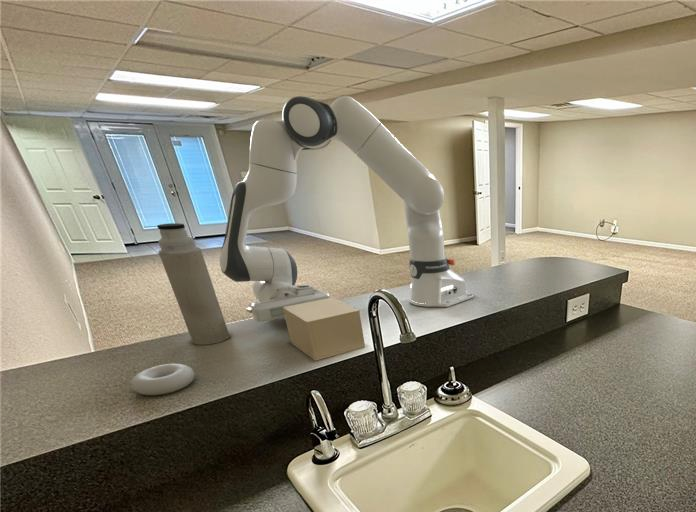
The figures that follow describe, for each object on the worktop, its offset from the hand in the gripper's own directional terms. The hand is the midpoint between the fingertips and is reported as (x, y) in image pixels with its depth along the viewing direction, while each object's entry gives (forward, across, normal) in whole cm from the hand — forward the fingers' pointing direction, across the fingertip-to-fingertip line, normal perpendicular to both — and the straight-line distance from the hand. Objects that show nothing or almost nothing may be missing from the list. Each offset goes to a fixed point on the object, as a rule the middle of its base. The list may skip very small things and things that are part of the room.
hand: (303, 312), depth 108 cm
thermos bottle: (-11, -20, +6) cm, 24 cm away
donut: (+12, -33, +6) cm, 35 cm away
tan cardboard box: (+13, 0, +5) cm, 14 cm away
